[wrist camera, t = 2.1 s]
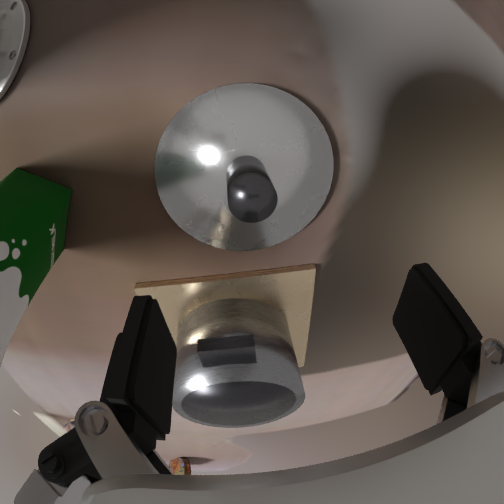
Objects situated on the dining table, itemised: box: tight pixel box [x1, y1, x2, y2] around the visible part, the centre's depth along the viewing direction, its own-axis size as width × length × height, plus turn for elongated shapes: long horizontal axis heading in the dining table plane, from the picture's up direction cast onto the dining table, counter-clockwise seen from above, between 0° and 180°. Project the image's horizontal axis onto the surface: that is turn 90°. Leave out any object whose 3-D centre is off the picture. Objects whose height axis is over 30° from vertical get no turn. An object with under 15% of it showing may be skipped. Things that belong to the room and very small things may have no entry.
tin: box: [169, 457, 191, 475], centre depth 68 cm, size 15×3×8 cm, turn 146°
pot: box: [134, 264, 316, 428], centre depth 28 cm, size 18×18×10 cm
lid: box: [155, 83, 334, 251], centre depth 19 cm, size 14×14×6 cm
